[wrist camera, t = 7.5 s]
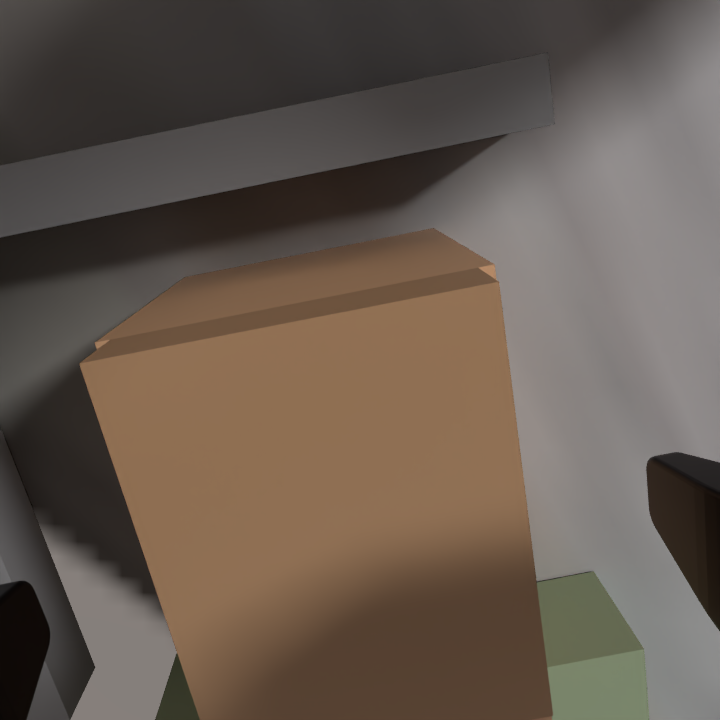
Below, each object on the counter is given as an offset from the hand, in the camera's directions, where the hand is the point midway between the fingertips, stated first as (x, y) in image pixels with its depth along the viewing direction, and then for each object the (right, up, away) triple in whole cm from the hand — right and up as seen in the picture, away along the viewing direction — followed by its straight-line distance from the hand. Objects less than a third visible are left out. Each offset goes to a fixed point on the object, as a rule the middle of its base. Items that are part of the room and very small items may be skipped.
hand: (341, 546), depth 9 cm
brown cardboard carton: (0, +1, +5) cm, 5 cm away
